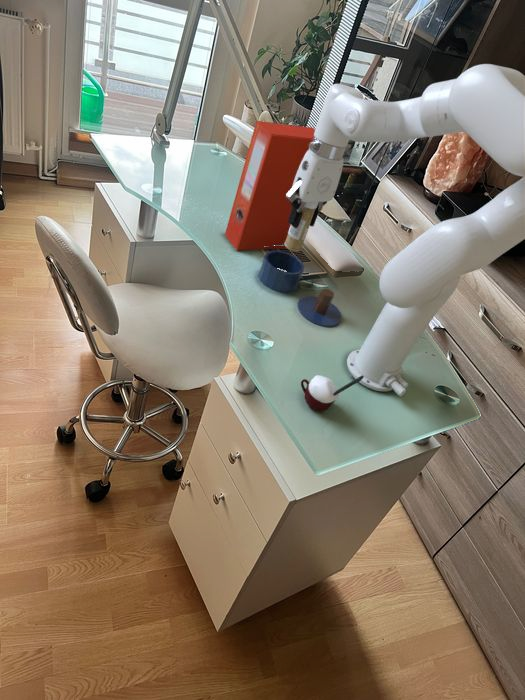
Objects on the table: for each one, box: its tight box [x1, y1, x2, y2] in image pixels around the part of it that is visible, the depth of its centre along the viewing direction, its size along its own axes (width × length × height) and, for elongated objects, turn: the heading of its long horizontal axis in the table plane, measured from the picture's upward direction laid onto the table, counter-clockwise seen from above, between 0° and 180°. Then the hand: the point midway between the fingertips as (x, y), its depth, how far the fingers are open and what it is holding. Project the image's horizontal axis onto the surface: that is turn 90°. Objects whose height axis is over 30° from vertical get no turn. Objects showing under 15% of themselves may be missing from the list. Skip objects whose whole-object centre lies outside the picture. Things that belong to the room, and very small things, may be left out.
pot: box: [258, 249, 305, 294], centre depth 128 cm, size 10×10×6 cm
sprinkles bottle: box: [284, 199, 319, 253], centre depth 119 cm, size 5×5×13 cm
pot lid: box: [297, 288, 342, 328], centre depth 123 cm, size 11×11×7 cm
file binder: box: [224, 120, 316, 251], centre depth 133 cm, size 8×17×32 cm, turn 121°
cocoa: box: [300, 374, 364, 412], centre depth 97 cm, size 10×6×12 cm, turn 34°
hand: (300, 223), depth 119 cm, fingers closed on sprinkles bottle, 4 cm apart
